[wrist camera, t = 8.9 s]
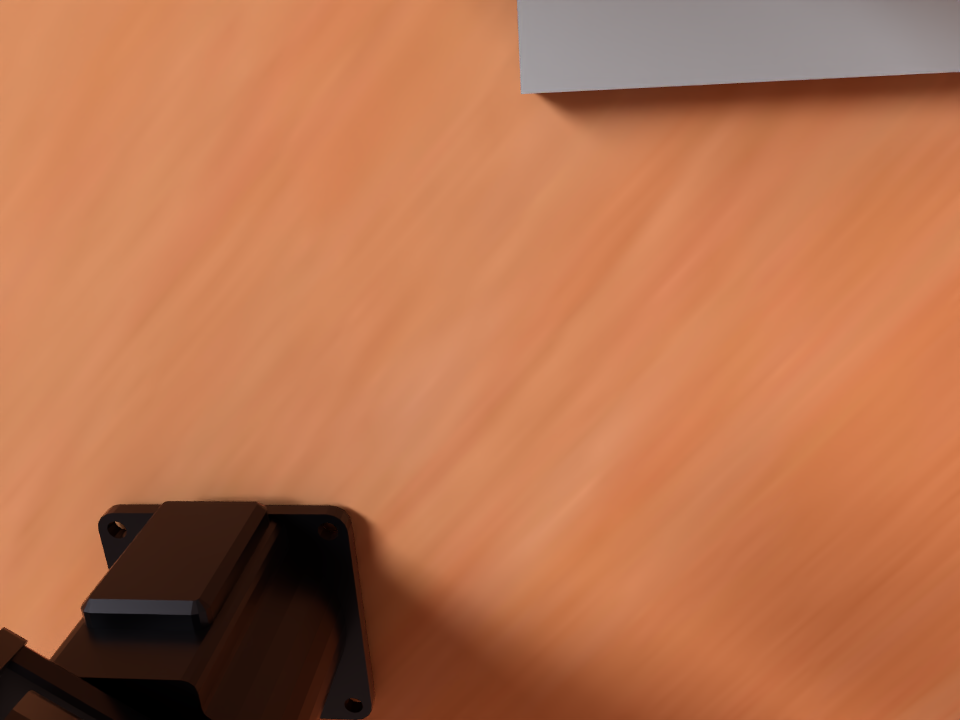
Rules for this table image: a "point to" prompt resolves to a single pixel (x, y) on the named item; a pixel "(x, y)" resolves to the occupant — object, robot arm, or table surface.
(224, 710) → the robot arm
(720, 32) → the plate
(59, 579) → the table surface
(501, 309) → the table surface
